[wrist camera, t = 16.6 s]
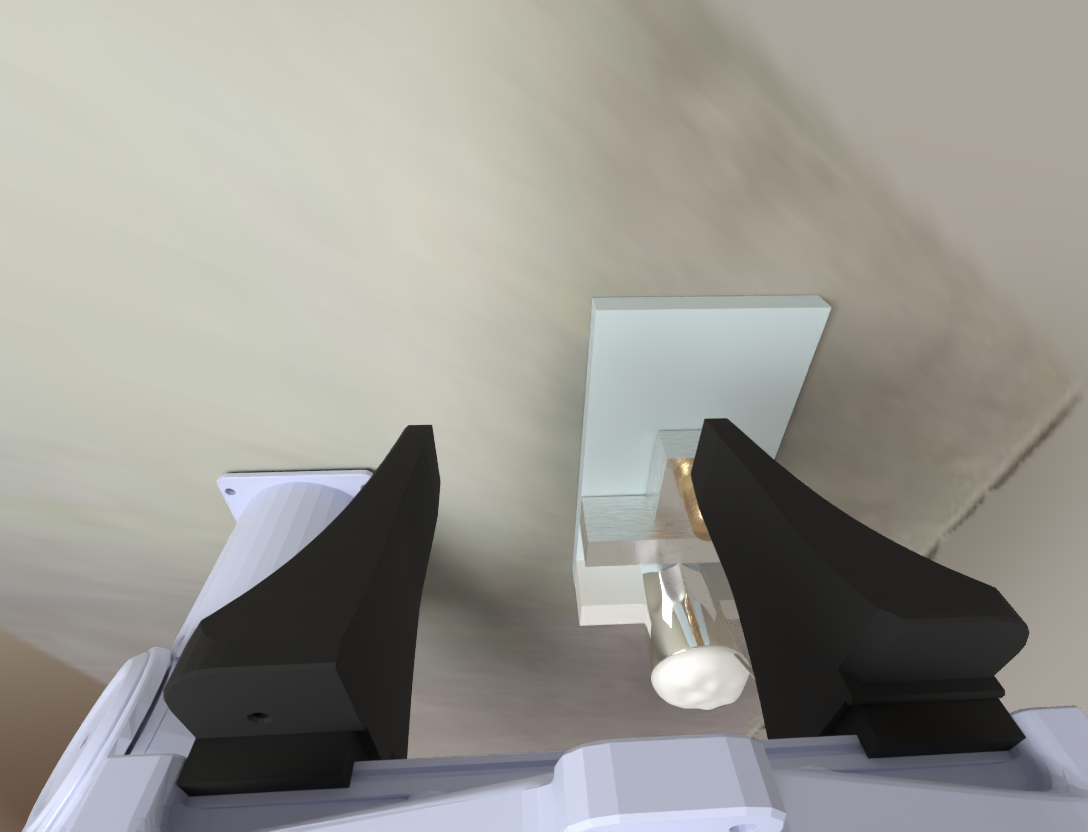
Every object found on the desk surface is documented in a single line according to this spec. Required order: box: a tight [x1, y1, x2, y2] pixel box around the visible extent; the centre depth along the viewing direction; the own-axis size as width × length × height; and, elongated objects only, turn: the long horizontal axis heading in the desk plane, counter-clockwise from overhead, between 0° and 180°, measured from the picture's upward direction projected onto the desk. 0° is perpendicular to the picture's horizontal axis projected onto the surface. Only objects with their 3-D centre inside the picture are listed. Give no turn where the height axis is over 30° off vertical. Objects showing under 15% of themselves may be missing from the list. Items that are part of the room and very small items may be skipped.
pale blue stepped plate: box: [572, 295, 832, 626], centre depth 27 cm, size 19×10×4 cm, turn 179°
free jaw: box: [580, 430, 720, 567], centre depth 26 cm, size 6×10×5 cm, turn 89°
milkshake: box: [637, 563, 755, 710], centre depth 27 cm, size 4×5×10 cm
